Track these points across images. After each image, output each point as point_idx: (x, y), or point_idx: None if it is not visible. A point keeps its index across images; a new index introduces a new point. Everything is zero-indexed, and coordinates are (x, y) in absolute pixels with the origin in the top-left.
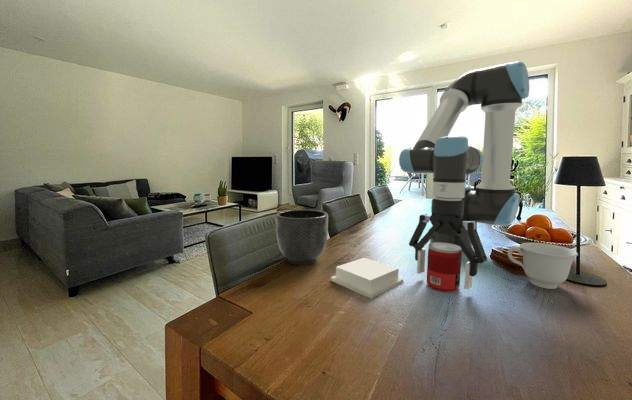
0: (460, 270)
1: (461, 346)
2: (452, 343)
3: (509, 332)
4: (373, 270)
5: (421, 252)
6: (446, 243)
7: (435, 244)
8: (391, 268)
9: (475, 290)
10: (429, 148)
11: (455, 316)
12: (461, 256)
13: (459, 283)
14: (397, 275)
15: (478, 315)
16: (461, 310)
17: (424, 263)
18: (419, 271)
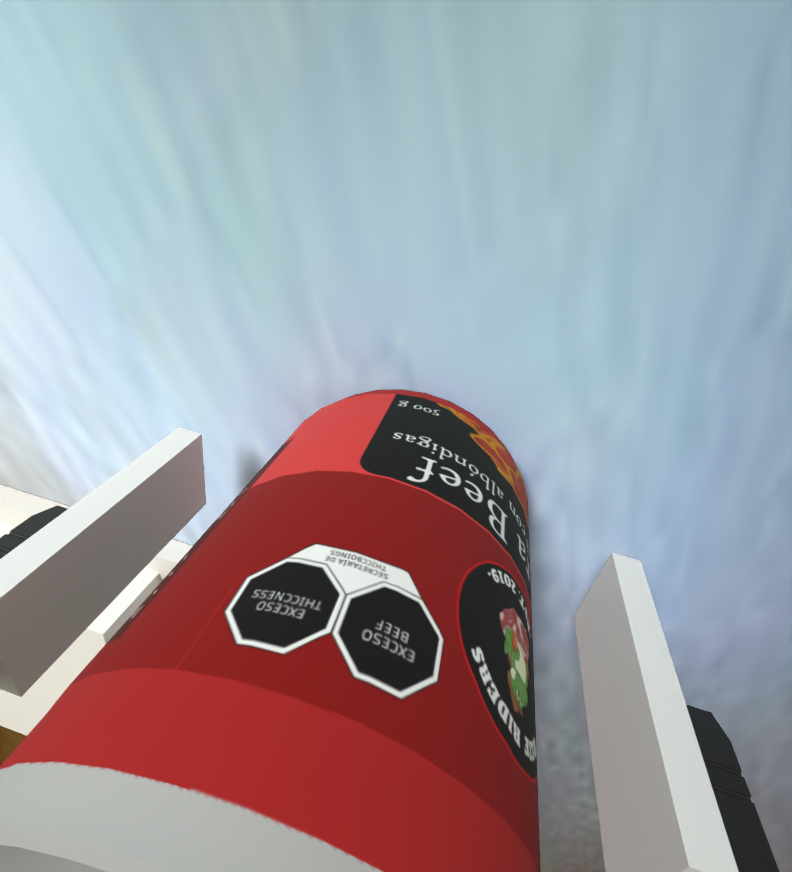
0: (531, 628)
1: (576, 866)
2: (548, 859)
3: (785, 809)
4: (54, 695)
5: (33, 659)
6: (109, 864)
7: (31, 864)
8: (78, 646)
9: (668, 439)
10: None
11: (541, 755)
12: (538, 855)
13: (528, 524)
14: (141, 601)
15: None
16: (564, 713)
17: (144, 486)
18: (192, 517)
